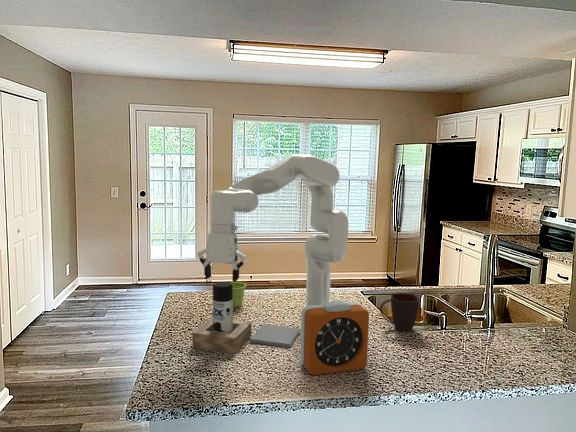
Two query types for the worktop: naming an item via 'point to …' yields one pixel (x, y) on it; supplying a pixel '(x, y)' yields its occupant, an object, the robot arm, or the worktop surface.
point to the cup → (403, 310)
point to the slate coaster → (275, 335)
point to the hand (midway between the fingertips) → (221, 279)
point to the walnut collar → (221, 337)
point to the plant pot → (238, 293)
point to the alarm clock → (334, 337)
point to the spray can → (223, 307)
